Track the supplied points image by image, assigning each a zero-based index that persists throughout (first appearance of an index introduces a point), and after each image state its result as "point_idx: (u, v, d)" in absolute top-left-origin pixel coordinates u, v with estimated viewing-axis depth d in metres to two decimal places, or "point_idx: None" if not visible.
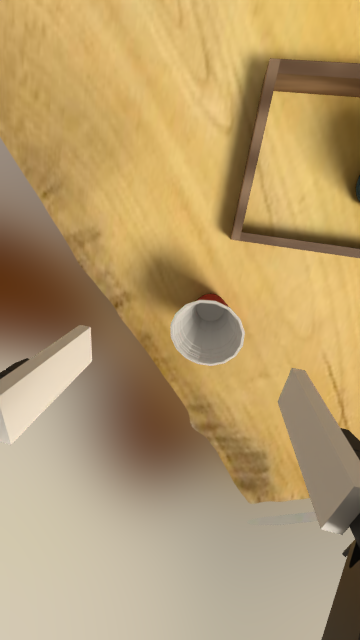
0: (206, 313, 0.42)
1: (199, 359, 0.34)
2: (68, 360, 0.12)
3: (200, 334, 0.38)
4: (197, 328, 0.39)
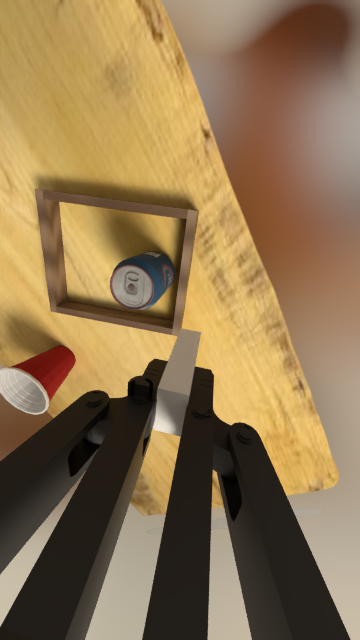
0: None
1: (27, 408, 0.41)
2: None
3: None
4: None
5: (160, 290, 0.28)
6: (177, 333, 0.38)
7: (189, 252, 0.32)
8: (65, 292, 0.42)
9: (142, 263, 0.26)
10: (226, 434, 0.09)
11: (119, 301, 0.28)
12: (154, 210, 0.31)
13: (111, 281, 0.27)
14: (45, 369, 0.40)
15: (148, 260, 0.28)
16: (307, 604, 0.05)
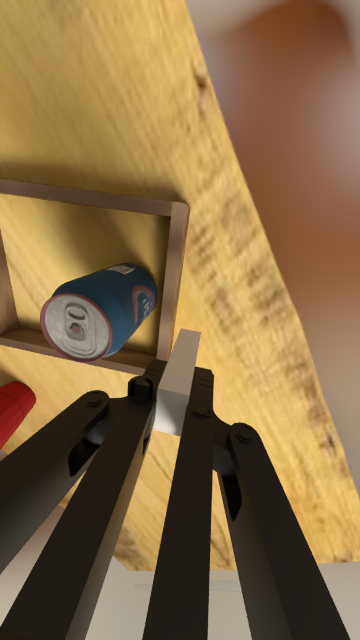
0: None
1: None
2: None
3: None
4: None
5: (125, 331, 0.17)
6: None
7: (176, 266, 0.21)
8: (13, 316, 0.31)
9: (92, 290, 0.16)
10: (226, 434, 0.09)
11: (59, 349, 0.17)
12: (121, 203, 0.20)
13: (42, 318, 0.16)
14: None
15: (106, 282, 0.17)
16: (307, 604, 0.05)
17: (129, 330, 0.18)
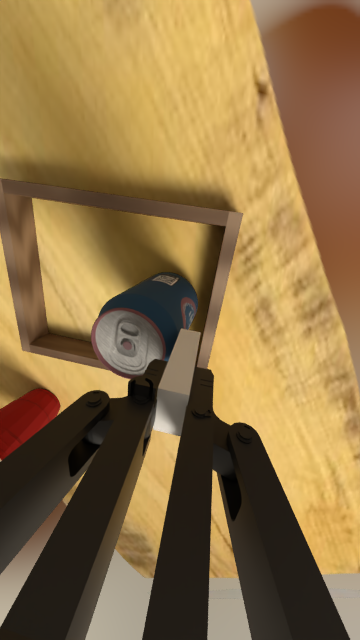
0: None
1: None
2: None
3: None
4: None
5: None
6: None
7: (226, 277, 0.21)
8: (44, 323, 0.30)
9: (146, 305, 0.15)
10: (226, 434, 0.09)
11: (107, 363, 0.17)
12: (174, 212, 0.19)
13: (93, 332, 0.16)
14: (12, 433, 0.28)
15: (158, 296, 0.16)
16: (307, 604, 0.05)
17: None
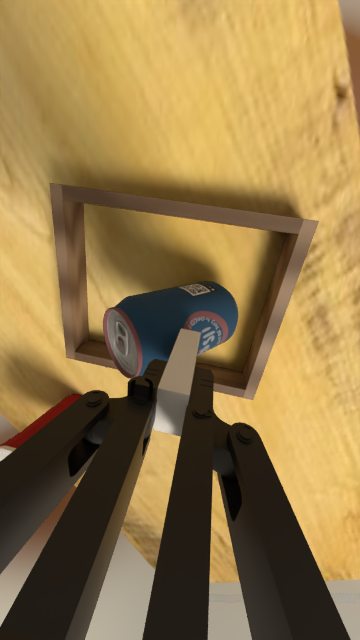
0: None
1: None
2: None
3: None
4: None
5: None
6: (252, 396, 0.26)
7: (293, 285, 0.20)
8: (86, 329, 0.30)
9: (137, 310, 0.15)
10: (226, 434, 0.09)
11: (113, 354, 0.19)
12: (244, 220, 0.19)
13: (105, 324, 0.18)
14: None
15: (158, 304, 0.16)
16: (307, 604, 0.05)
17: (167, 360, 0.16)
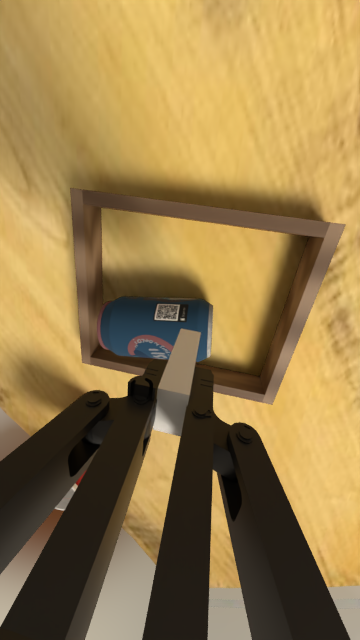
0: None
1: None
2: None
3: None
4: None
5: (113, 351, 0.23)
6: (271, 401, 0.26)
7: (317, 289, 0.20)
8: None
9: (106, 316, 0.22)
10: (226, 434, 0.09)
11: None
12: (268, 224, 0.19)
13: None
14: None
15: (119, 317, 0.22)
16: (307, 604, 0.05)
17: (119, 353, 0.23)
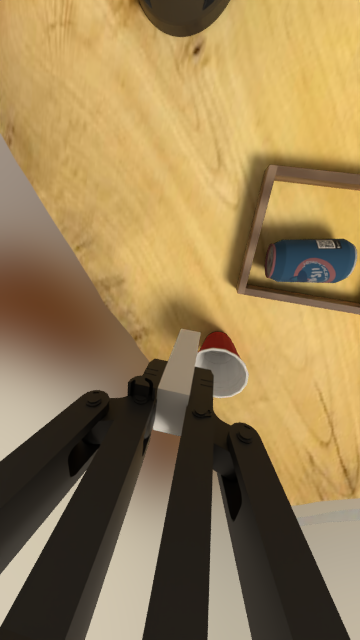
0: None
1: None
2: None
3: (210, 367, 0.45)
4: (207, 362, 0.46)
5: (281, 274, 0.35)
6: None
7: None
8: None
9: (281, 248, 0.34)
10: (226, 434, 0.09)
11: (266, 265, 0.40)
12: None
13: (268, 250, 0.38)
14: (235, 352, 0.39)
15: (293, 248, 0.33)
16: (307, 604, 0.05)
17: (284, 275, 0.35)
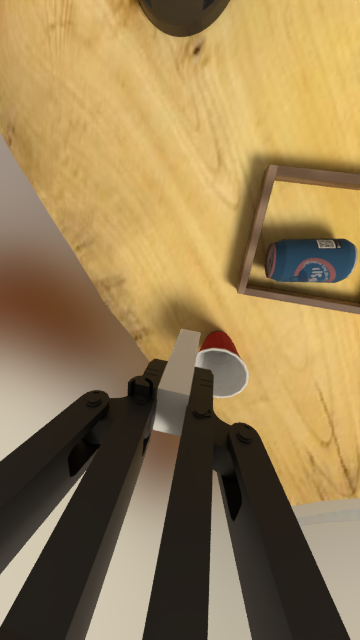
0: None
1: None
2: None
3: (210, 367, 0.45)
4: (207, 362, 0.46)
5: (281, 274, 0.35)
6: None
7: None
8: None
9: (281, 248, 0.34)
10: (226, 434, 0.09)
11: (266, 265, 0.39)
12: None
13: (268, 249, 0.38)
14: (235, 352, 0.39)
15: (293, 248, 0.33)
16: (307, 604, 0.05)
17: (285, 275, 0.35)
